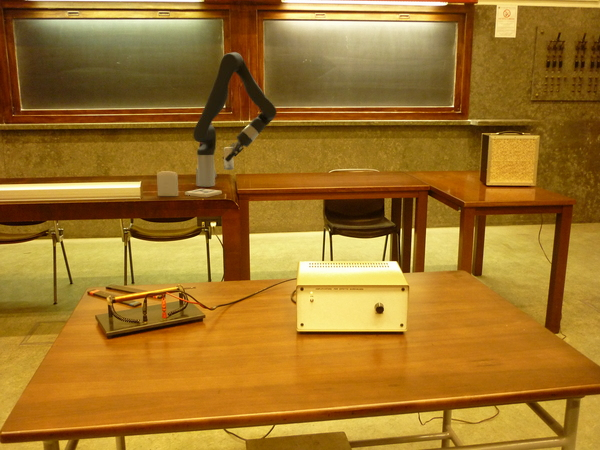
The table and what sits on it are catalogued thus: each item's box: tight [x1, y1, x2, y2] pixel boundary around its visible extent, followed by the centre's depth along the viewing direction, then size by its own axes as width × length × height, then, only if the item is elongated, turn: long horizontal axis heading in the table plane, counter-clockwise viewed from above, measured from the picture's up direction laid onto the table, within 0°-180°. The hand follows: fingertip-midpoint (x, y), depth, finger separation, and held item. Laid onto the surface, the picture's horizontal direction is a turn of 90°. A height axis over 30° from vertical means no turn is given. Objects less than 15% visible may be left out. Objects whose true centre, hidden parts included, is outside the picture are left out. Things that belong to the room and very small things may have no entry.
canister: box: [223, 146, 235, 171], centre depth 296 cm, size 5×5×11 cm
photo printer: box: [156, 170, 179, 197], centre depth 287 cm, size 10×4×12 cm, turn 86°
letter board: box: [184, 188, 223, 198], centre depth 294 cm, size 13×13×2 cm
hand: (225, 159), depth 296 cm, fingers closed on canister, 5 cm apart
